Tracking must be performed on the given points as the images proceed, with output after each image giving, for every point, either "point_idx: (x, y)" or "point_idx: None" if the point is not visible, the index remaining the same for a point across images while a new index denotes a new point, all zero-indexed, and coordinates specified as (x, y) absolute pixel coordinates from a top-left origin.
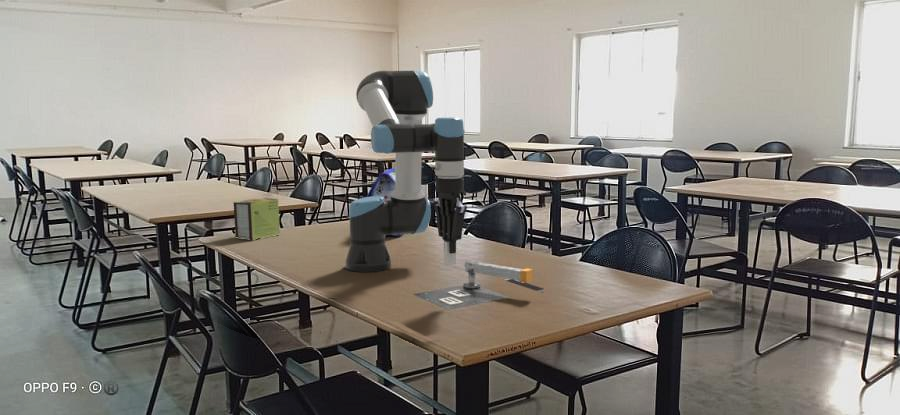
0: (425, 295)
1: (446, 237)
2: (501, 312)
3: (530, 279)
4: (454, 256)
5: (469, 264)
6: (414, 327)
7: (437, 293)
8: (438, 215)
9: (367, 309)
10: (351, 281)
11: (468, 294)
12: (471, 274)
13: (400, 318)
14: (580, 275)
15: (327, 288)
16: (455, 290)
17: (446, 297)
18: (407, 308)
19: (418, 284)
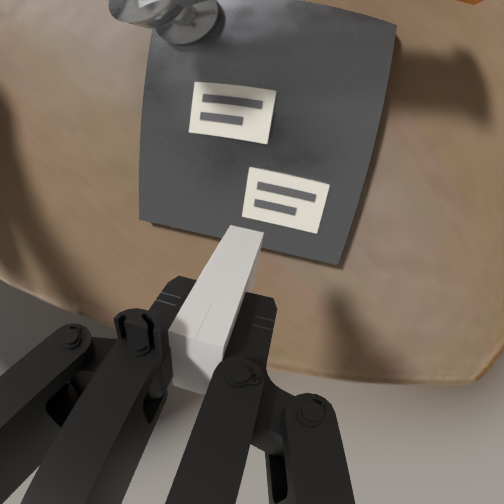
0: (171, 204)
1: (161, 393)
2: (451, 147)
3: None
4: (252, 267)
5: (151, 14)
6: (340, 360)
7: (174, 160)
8: (9, 494)
9: None
10: (6, 221)
11: (269, 98)
12: None
13: (271, 341)
14: None
15: (30, 277)
16: (193, 97)
17: (233, 172)
18: None
19: (55, 118)
